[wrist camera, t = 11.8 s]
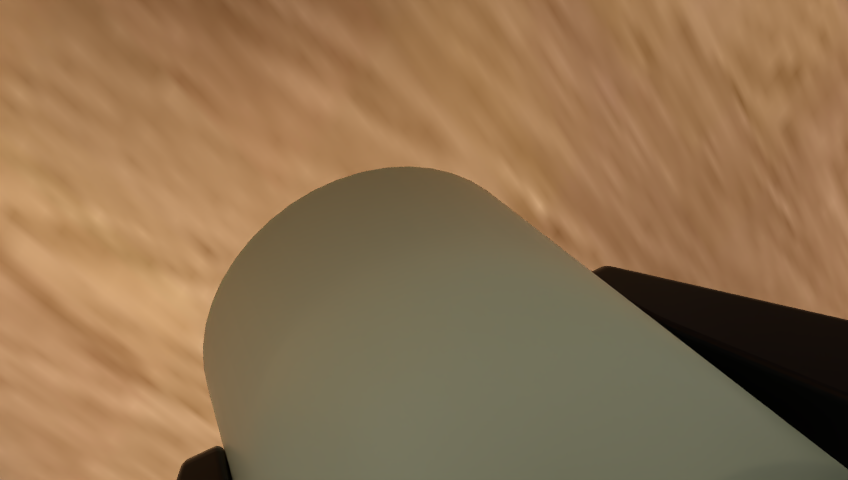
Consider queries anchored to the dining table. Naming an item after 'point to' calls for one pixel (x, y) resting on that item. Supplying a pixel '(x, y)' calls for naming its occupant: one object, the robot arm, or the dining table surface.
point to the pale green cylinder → (461, 354)
